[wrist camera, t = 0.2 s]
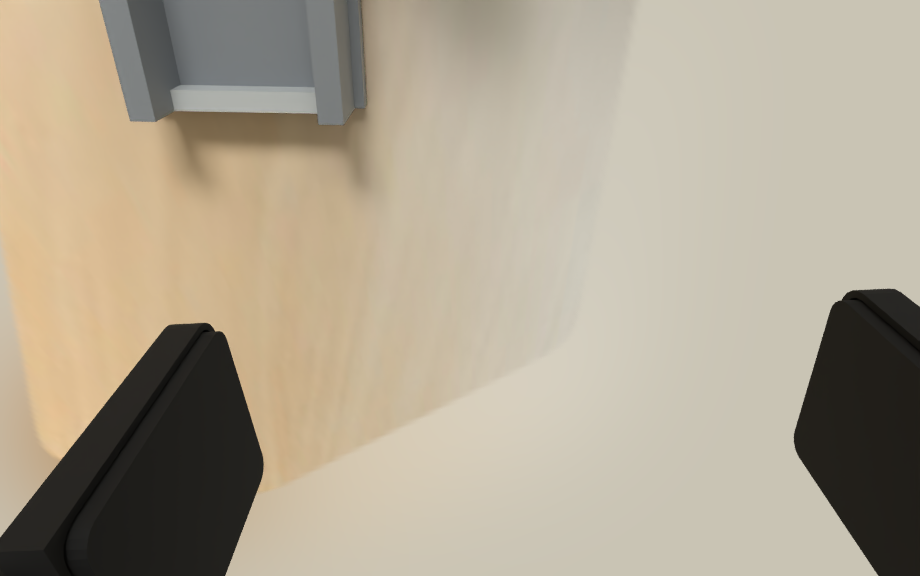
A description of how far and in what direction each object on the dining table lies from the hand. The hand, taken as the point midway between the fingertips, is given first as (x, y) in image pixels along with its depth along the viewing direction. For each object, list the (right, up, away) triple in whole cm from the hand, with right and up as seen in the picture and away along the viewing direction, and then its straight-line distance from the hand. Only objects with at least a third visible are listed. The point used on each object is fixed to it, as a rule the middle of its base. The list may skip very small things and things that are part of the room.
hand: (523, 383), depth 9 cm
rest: (-13, +18, +25) cm, 33 cm away
